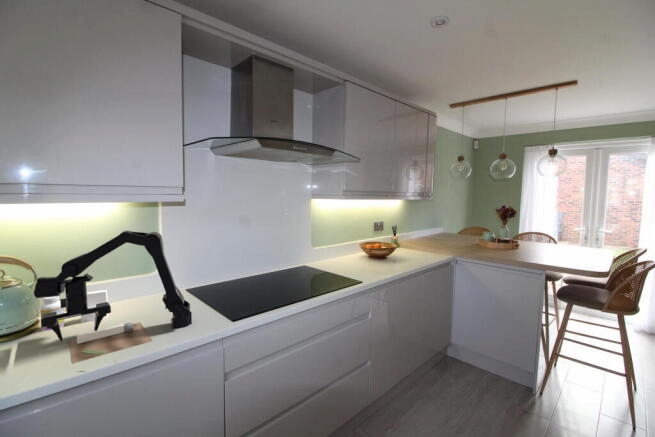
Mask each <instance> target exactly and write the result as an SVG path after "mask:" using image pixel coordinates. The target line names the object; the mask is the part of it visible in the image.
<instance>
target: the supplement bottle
mask: <svg viewBox="0 0 655 437" xmlns="http://www.w3.org/2000/svg"><path fill="white" fill-rule="evenodd" d="M42 301H43V304H41V306H40V307H39V308H40V317H41V316H42V315H43V314H46V313H52V312H56V313H57V315H58V314H63V313H65V311H64V308H61V304H60V296H55V297H45V298H42ZM58 321H59V326H60V329H61V328H64V326H65V319H62V320H58ZM41 330H42V332H47V331H51V330H52V329H51V328H49V329H47V327H41ZM52 331H53V330H52Z"/></svg>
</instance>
